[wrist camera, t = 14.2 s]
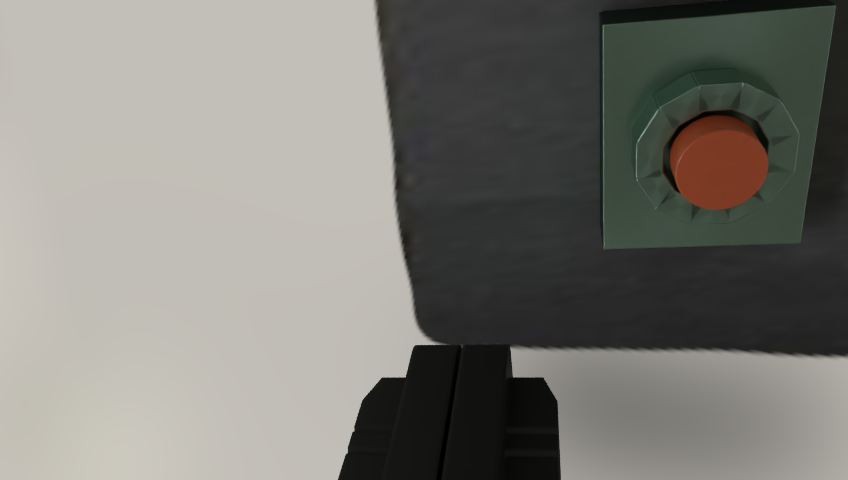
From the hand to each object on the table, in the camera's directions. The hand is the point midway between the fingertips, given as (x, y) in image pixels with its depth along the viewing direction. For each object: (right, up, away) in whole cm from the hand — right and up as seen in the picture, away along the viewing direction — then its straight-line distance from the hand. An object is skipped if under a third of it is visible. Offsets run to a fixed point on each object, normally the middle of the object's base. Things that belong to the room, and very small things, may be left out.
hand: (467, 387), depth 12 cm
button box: (+12, +8, +23) cm, 27 cm away
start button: (+12, +6, +20) cm, 24 cm away
